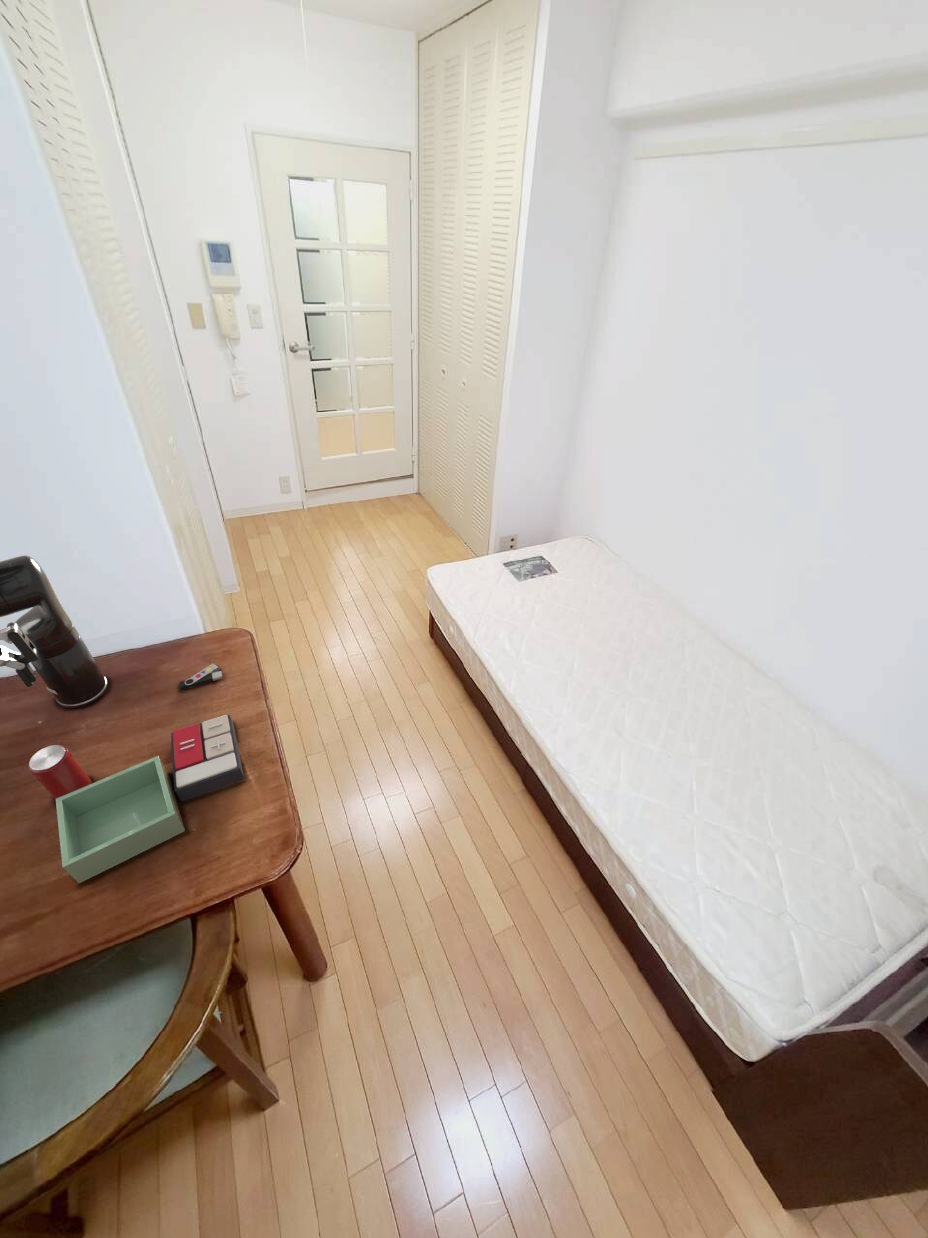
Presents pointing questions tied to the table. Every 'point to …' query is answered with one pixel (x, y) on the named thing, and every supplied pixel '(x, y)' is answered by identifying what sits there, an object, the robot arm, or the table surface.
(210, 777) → the calculator
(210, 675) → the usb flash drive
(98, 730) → the table surface
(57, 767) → the can
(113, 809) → the open box
